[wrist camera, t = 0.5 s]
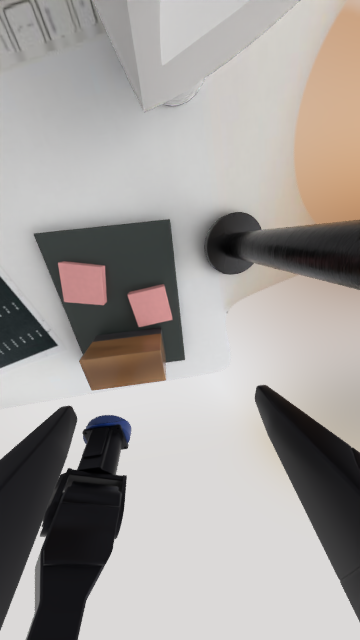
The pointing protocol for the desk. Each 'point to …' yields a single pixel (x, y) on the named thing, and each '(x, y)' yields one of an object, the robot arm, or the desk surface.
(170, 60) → the light fixture
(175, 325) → the slate
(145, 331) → the brown block
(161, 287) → the crumb
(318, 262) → the desk lamp
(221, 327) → the desk surface
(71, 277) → the crumb
